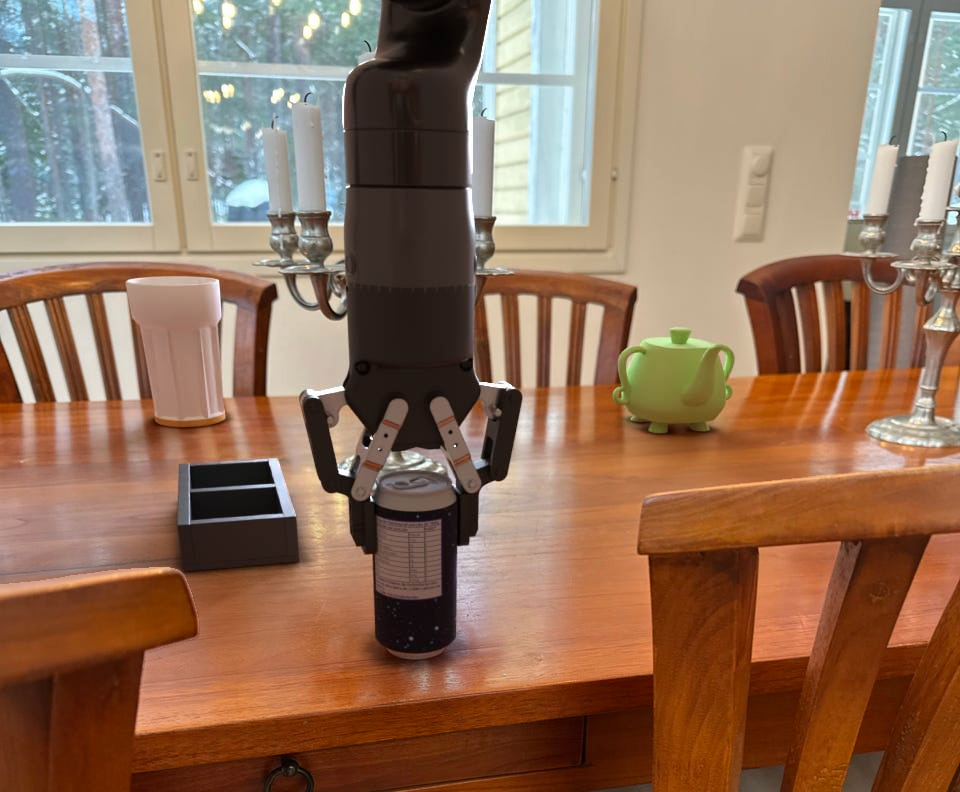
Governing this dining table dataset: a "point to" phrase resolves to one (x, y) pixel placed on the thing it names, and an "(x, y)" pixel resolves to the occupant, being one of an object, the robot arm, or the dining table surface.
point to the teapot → (674, 381)
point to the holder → (235, 515)
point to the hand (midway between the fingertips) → (414, 545)
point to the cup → (180, 346)
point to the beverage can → (415, 563)
